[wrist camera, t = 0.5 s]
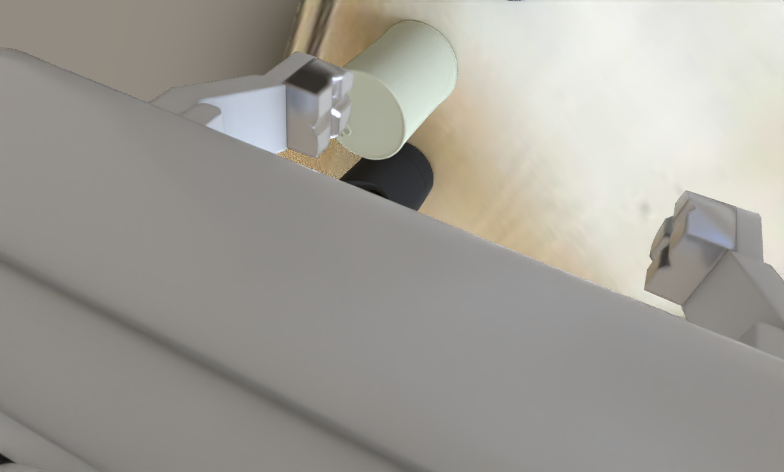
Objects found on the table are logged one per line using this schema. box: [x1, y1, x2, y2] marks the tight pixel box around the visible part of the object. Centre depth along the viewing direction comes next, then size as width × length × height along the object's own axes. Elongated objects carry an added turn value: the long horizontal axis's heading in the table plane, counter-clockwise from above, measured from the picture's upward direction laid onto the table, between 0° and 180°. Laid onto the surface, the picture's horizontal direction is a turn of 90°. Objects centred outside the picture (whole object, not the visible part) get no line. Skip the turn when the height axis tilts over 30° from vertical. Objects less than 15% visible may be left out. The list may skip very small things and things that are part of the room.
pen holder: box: [339, 142, 433, 211], centre depth 65 cm, size 9×9×10 cm
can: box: [335, 21, 458, 160], centre depth 54 cm, size 9×9×12 cm
